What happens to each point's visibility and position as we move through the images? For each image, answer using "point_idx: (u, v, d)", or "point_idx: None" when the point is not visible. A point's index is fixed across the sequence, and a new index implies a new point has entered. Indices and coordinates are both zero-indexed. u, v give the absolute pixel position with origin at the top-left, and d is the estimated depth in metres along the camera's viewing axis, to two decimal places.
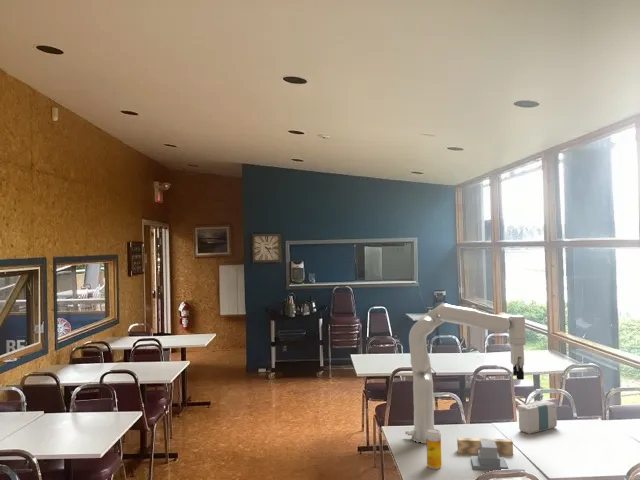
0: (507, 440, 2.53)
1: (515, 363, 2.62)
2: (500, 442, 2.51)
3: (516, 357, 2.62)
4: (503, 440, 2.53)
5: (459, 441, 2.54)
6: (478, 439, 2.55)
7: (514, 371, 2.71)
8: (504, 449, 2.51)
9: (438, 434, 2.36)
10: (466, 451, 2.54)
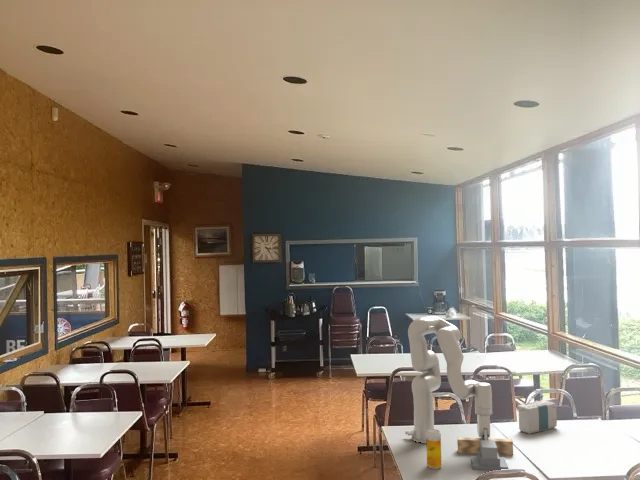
0: (507, 440, 2.52)
1: (481, 435, 2.50)
2: (500, 442, 2.51)
3: (482, 428, 2.50)
4: (503, 440, 2.53)
5: (459, 440, 2.54)
6: (478, 439, 2.55)
7: None
8: (504, 449, 2.51)
9: (438, 434, 2.36)
10: (466, 451, 2.54)
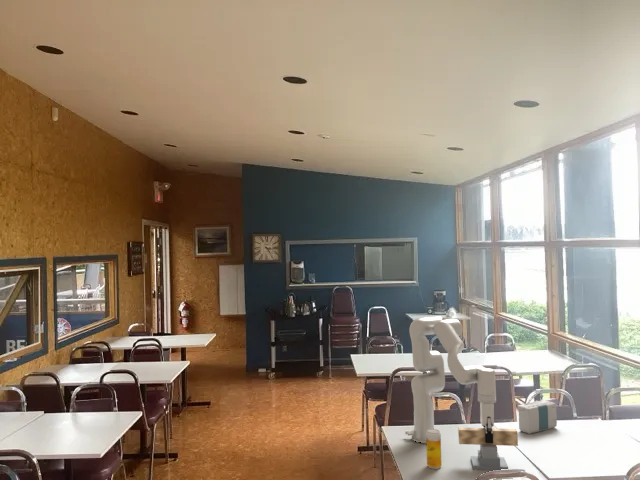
0: (511, 430, 2.37)
1: (484, 423, 2.34)
2: (504, 432, 2.36)
3: (485, 417, 2.34)
4: (507, 429, 2.38)
5: (460, 431, 2.39)
6: (480, 429, 2.39)
7: None
8: (508, 439, 2.35)
9: (438, 434, 2.36)
10: (468, 441, 2.38)
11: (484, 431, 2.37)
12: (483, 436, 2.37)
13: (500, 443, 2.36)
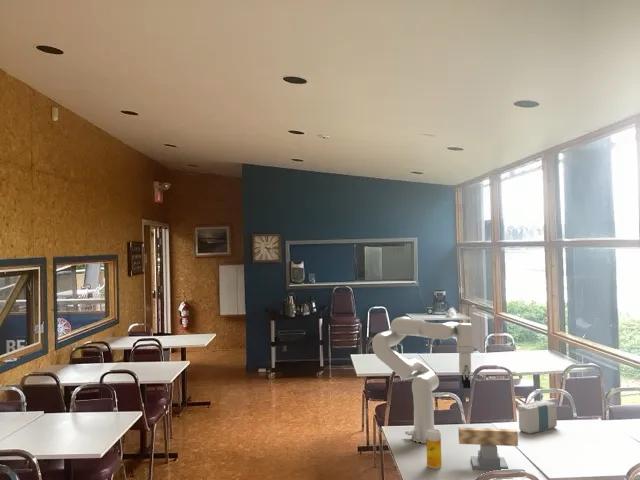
0: (511, 430, 2.37)
1: (462, 372, 2.59)
2: (504, 432, 2.36)
3: (463, 366, 2.59)
4: (507, 430, 2.38)
5: (460, 431, 2.39)
6: (480, 429, 2.39)
7: (462, 379, 2.68)
8: (508, 440, 2.35)
9: (438, 434, 2.36)
10: (468, 441, 2.38)
11: (484, 431, 2.37)
12: (483, 436, 2.37)
13: (500, 443, 2.36)
